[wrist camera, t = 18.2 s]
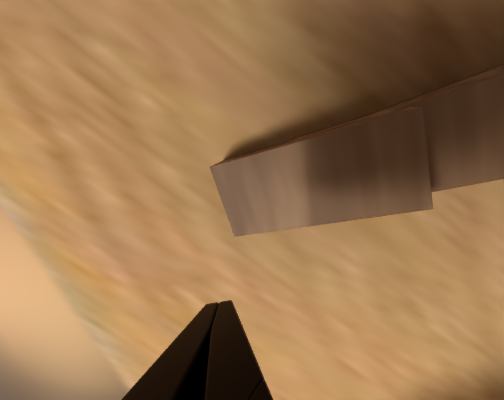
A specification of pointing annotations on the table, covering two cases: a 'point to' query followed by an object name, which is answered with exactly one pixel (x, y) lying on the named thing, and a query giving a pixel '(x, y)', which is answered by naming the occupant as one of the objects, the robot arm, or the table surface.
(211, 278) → the table surface
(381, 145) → the domino
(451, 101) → the domino
